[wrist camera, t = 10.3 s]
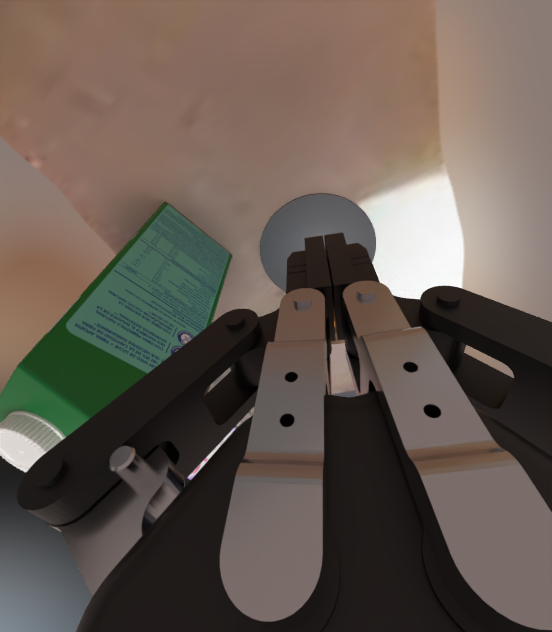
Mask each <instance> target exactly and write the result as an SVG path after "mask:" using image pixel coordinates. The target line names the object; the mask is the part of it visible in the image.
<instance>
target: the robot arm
mask: <svg viewBox="0 0 552 632" xmlns="http://www.w3.org/2000/svg"><path fill="white" fill-rule="evenodd" d="M304 242H305V250H304V251H297V252H292V253H291V255H290V256H289V257H288V259H287V279H286V295H285V296H284V297H283V298H282V300H281V303H280V308H279V309H277V310H276V311H274V312H272V313H270V314H267V315H264V316H261V317H258V316H257V314H256V313H255V312H254V311H252V310H249V309H236V310H232V311H229V312H227V313H225V314H224V315H222V316H221V317H219V318H218V319H217V320H216V321H214V322H213V323H212V324H210V325H209V326H208V327H207V328H205V329H204V330H203V331H201V332H200V333H199V334H198V335H196V336H195V337H194V338H193V339H191V340H190V341H189V342H187V343H186V344H185V345H184V346H182V347H181V348H180V349H178V350H177V351H176V352H175V353H173V354H172V355H171V356H169V357H168V358H167V359H166V360H164V361H163V362H162V363H160V364H159V365H158V366H157V367H155V368H154V369H153V370H152V371H150V372H149V373H148V374H146V375H145V376H144V377H143V378H141V379H140V380H139V381H137V382H136V383H135V384H134V385H132V386H131V387H130V388H128V389H127V390H126V391H125V392H123V393H122V394H121V395H119V396H118V397H117V398H116V399H114V400H113V401H112V402H110V403H109V404H108V405H107V406H105V407H104V408H103V409H102V410H100V411H99V412H98V413H96V414H95V415H94V416H93V417H91V418H90V419H89V420H87V421H86V422H85V423H84V424H82V425H81V426H80V427H78V428H77V429H76V430H75V431H73V432H72V433H71V434H69V435H68V436H67V437H66V438H64V439H63V440H62V441H61V442H59V443H58V444H57V445H55V446H54V447H53V448H52V449H50V450H49V451H48V452H46V453H45V454H44V455H43V456H41V457H40V458H39V459H38V460H37V461H36V462H35V463H34V464H33V465H32V466H31V467H30V468H29V470H28V471H27V472H26V474H25V475H24V477H23V479H22V481H21V483H20V485H19V489H18V493H17V500H18V503H19V505H20V506H21V507H22V508H24V509H25V510H27V511H29V512H31V513H33V514H34V515H36V516H38V517H40V518H42V519H44V520H45V522H46V523H47V524H48V525H50V526H51V527H53V528H55V529H57V530H59V531H61V532H62V534H63V536H64V538H65V540H66V542H67V545H68V547H69V549H70V551H71V553H72V555H73V557H74V559H75V561H76V563H77V565H78V568H79V569H80V571H81V574H82V576H83V578H84V580H85V582H86V584H87V586H88V588H89V590H90V592H91V594H92V599H91V601H90V603H89V604H88V606H87V608H86V610H85V612H84V614H83V616H82V619H81V621H80V623H79V625H78V628H77V630H76V632H552V322H549V321H547V320H544V319H541V318H539V317H536V316H533V315H531V314H528V313H525V312H523V311H520V310H518V309H515V308H512V307H509V306H507V305H504V304H501V303H499V302H496V301H494V300H491V299H488V298H485V297H483V296H480V295H477V294H475V293H472V292H469V291H467V290H464V289H461V288H458V287H453V286H437V287H432V288H430V289H428V290H426V291H425V292H423V294H422V295H421V299H420V300H419V299H408V298H401V297H397V296H393V295H392V293H391V292H390V290H389V288H388V287H387V286H385V285H384V284H382V283H380V282H379V279H378V277H377V274H376V272H375V269H374V267H373V264H372V262H371V259H370V257H369V254H368V251H367V249H366V248H365V247H363V246H362V245H361V244H359V243H354V244H346V240H345V237H344V234H343V232H341V233H334V234H328V235H324V240H323V235H321V236H314V237H308V238H304ZM324 242H325V246H324ZM334 321H335V325H334ZM335 327H336V333H337V339H338V340H344V341H345V346H346V359H347V363H348V366H349V369H350V373H351V376H352V380H353V383H354V387H355V390H356V394H357V396H356V397H351V398H347V397H340V396H333V395H332V390H331V358H330V354H331V351H332V348H331V341H336V338H335ZM466 345H468V346H470V347H472V348H474V349H476V350H478V351H480V352H482V353H484V354H486V355H488V356H491V357H492V358H494V359H496V360H498V361H500V362H502V363H504V364H505V365H507V366H508V367H509V368H510V369H511V370H512V372H513V374H514V378H512V377H510V376H508V375H506V374H504V373H502V372H500V371H498V370H496V369H494V368H492V367H490V366H489V365H487V364H485V363H483V362H481V361H479V360H477V359H475V358H473V357H471V356H469V355H467V354H465V353H464V350H465V347H466ZM228 368H230V369H231V371H230V372H229V373H228V374H227V375H226V376H225V377H224V378H223V379H222V380H221V381H220V382H219V383H218V384H216V385H215V386H214V387H213V388H212V389H211V390H210V391H209V392H208V393H207V394H206V395H205V396H204V394H205V392H206V390H207V388H208V387H209V386H210V385H211V384H212V383H213V382H214V381H215V380H216V379H218V378H219V377H220V376H221V375H222V374H223V373H224V372H225V371H226V370H227V369H228ZM254 406H255V407H254ZM253 407H254V413H253V415H252V416H251V417H249V418H248V419H247V420H245V421H244V422H243V423H242V424H241V425H239V426H238V427H237V428H236V429H235V430H234V431H233V432H232V434H231V435H230V436H229V437H228V438H227V439H226V440H225V442H224V443H223V444H222V445H221V446H220V447H219V448H218V450H217V451H216V452H215V453H214V454H213V455H212V456H211V458H210V459H209V460H208V461H207V462H206V463H205V464H204V466H203V467H202V468H201V469H200V470H199V471H198V472H197V474H196V475H195V476H194V477H193V478H192V479H191V480H190V482H189V483H188V484H187V485H186V486H185V487H184V481H185V480H186V479H187V478H188V476H189V475H190V474H191V473H192V472H193V471H194V470H195V469H196V468H197V467H198V466H199V465H200V464H201V463H202V462H203V460H204V459H205V458H206V457H207V456H208V455H209V454H210V453H211V452H212V451H213V450H214V449H215V448H216V447H217V446H218V444H219V443H220V442H221V441H222V440H223V439H224V438H225V437H226V436H227V435H228V434H229V433H230V432H231V431H232V429H233V428H234V427H235V426H236V425H237V424H238V423H239V422H240V421H241V420H242V419H243V418H244V417H245V416H246V415H247V413H248V412H249V411H250V410H251V409H252V408H253Z"/></svg>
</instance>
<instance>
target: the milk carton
mask: <svg viewBox="0 0 552 632" xmlns="http://www.w3.org/2000/svg"><path fill="white" fill-rule="evenodd" d="M231 258H232V255H231V254H230V253H228V252H227V251H226V250H225V249H223V248H222V247H221V246H220V245H218V244H217V243H216V242H215V241H213V240H212V239H211V238H210V237H208V236H207V235H206V234H205V233H203V232H202V231H201V230H200V229H198V228H197V227H196V226H195V225H193V224H192V223H191V222H190V221H188V220H187V219H186V218H185V217H183V216H182V215H181V214H180V213H178V212H177V211H176V210H175V209H173V208H172V207H171V206H170V205H168V204H167V203H166V202H164V203H163V204H162V205H161V206H160V207H159V209H158V210H157V211H156V212H155V213H154V214H153V215H152V216H151V217H150V219H149V220H148V221H147V222H146V223H145V224H144V225H143V226H142V227H141V229H140V230H139V231H138V232H137V233H136V234H135V235H134V236H133V237H132V239H131V240H130V241H129V242H128V243H127V244H126V245H125V246H124V247H123V249H122V250H121V251H120V252H119V253H118V254H117V255H116V256H115V258H114V259H113V260H112V261H111V262H110V263H109V264H108V265H107V266H106V268H105V269H104V270H103V271H102V272H101V273H100V274H99V275H98V276H97V278H96V279H95V280H94V281H93V282H92V283H91V284H90V285H89V286H88V288H87V289H86V290H85V291H84V292H83V293H82V294H81V295H80V296H79V298H78V299H77V300H76V301H75V302H74V303H73V304H72V305H71V307H70V308H69V309H68V310H67V311H66V312H65V313H64V314H63V315H62V317H61V318H60V319H59V320H58V321H57V322H56V323H55V324H54V325H53V327H52V328H51V329H50V330H49V331H48V332H47V333H46V334H45V335H44V336H43V338H42V339H41V340H40V341H39V342H38V343H37V344H36V345H35V347H34V348H33V349H32V350H31V351H30V352H29V353H28V354H27V355H26V356H25V358H24V359H23V360H22V361H21V362H20V363H19V364H18V365H17V367H16V369H15V370H14V372H13V374H12V375H11V377H10V379H9V380H8V382H7V384H6V385H5V387H4V388H3V390H2V392H1V393H0V456H2V457H3V458H4V459H6V461H8V462H10V464H12V465H13V466H16V468H19V469H20V470H23V471H24V472H27V471H28V470H29V468H30V467H31V466H32V465H33V464H34V463H35V462H36V461H37V460H38V459H39V458H40V457H41V456H43V455H44V454H45V453H46V452H48V451H49V450H50V449H52V448H53V447H54V446H55V445H57V444H58V443H59V442H61V441H62V440H63V439H64V438H66V437H67V436H68V435H69V434H71V433H72V432H73V431H75V430H76V429H77V428H78V427H80V426H81V425H82V424H84V423H85V422H86V421H87V420H89V419H90V418H91V417H93V416H94V415H95V414H96V413H98V412H99V411H100V410H102V409H103V408H104V407H105V406H107V405H108V404H109V403H110V402H112V401H113V400H114V399H116V398H117V397H118V396H119V395H121V394H122V393H123V392H125V391H126V390H127V389H128V388H130V387H131V386H132V385H134V384H135V383H136V382H137V381H139V380H140V379H141V378H143V377H144V376H145V375H146V374H148V373H149V372H150V371H152V370H153V369H154V368H155V367H157V366H158V365H159V364H160V363H162V362H163V361H164V360H166V359H167V358H168V357H169V356H171V355H172V354H173V353H175V352H176V351H177V350H178V349H180V348H181V347H182V346H184V345H185V344H186V343H187V342H189V341H190V340H191V339H193V338H194V337H195V336H196V335H198V334H199V333H200V332H201V331H203V330H204V329H205V328H207V327H208V326H209V325H210V324H211V323H212V320H213V317H214V313H215V310H216V307H217V303H218V300H219V297H220V294H221V290H222V287H223V284H224V281H225V277H226V274H227V271H228V268H229V264H230V261H231Z"/></svg>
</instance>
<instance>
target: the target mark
mask: <svg viewBox="0 0 552 632" xmlns="http://www.w3.org/2000/svg"><path fill="white" fill-rule="evenodd" d="M341 232H343V234H344V237H345V240H346V244H354V243H359V244H361V245H362V246H363V247H365V248H366V249H367V251H368V254H369V257H370V259H371V262H372V261H373V259H374V255H375V250H376V237H375V232H374V228H373V226H372V223H371V221H370V220H369V218H368V216H367V215H366V214H365V213H364V211H363V210H362V209H361V208H360V207H358V206H357V205H356V204H354V203H353V202H351V201H349V200H347V199H345V198H343V197H340V196H337V195H331V194H312V195H307V196H303V197H300V198H297V199H295V200H293V201H291V202H289V203H287V204H286V205H285V206H283V207H282V208H280V209H279V210H278V211H277V212H276V213H275V214H274V215H273V217H272V218H271V219H270V220H269V222H268V224H267V225H266V227H265V230H264V232H263V235H262V239H261V245H260V255H261V261H262V264H263V267H264V269H265V271H266V273H267V275H268V276H269V278H270V279H271V280H272V281H273V282H274V283H275V284H276V285H277V286H278V287H279V288H281V289H282V290H284V291H286V279H287V259H288V257H289V256H290V255H291V253H292V252H297V251H304V250H305V242H304V238H308V237H314V236H321V235H323V240H324V235H328V234H334V233H341ZM324 246H325V242H324Z"/></svg>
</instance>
